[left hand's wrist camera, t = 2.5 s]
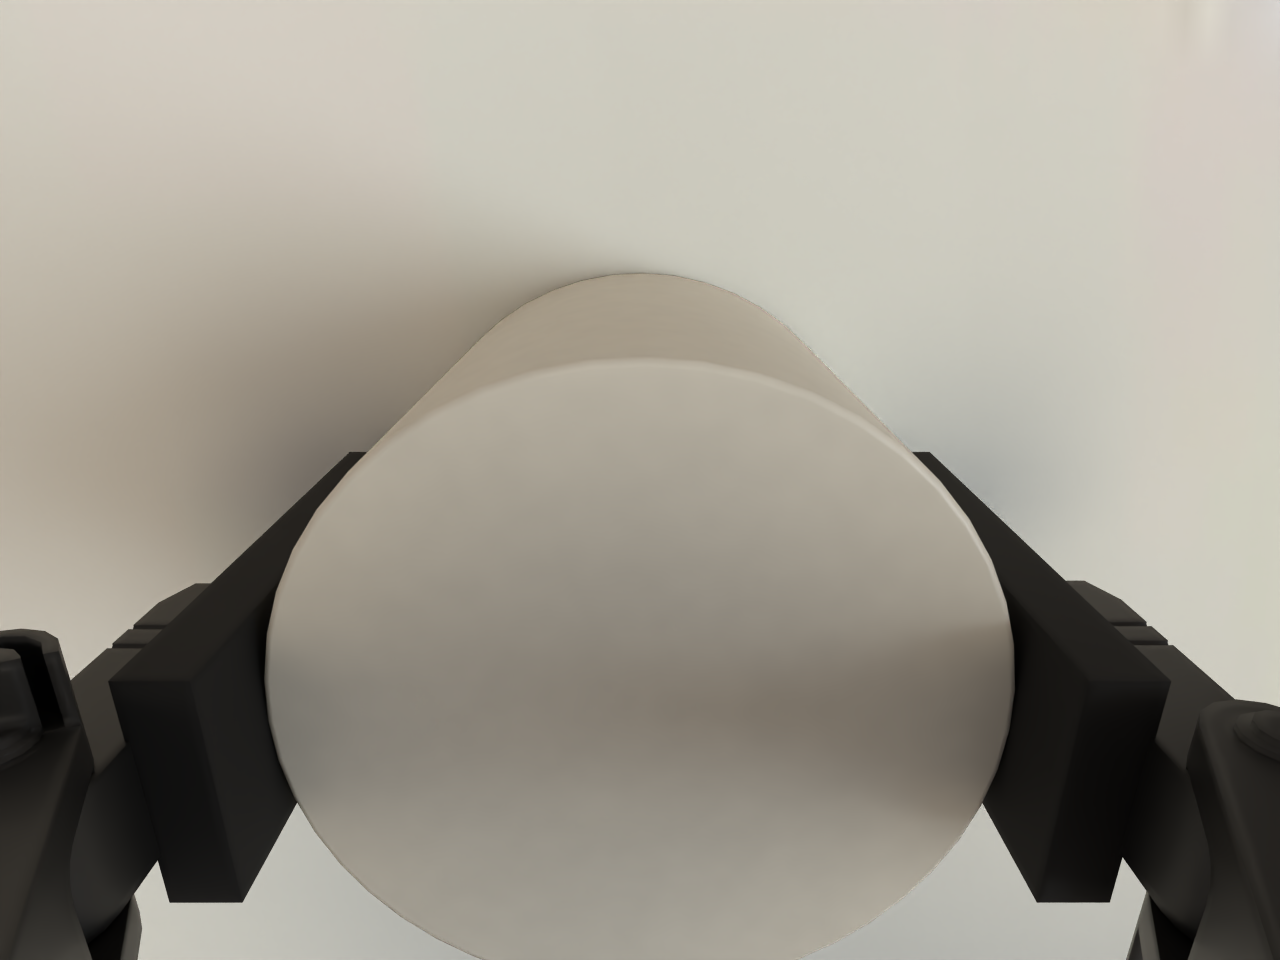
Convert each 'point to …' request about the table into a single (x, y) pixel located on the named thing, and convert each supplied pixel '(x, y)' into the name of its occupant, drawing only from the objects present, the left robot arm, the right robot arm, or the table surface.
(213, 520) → the table surface
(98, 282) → the table surface
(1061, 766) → the left robot arm
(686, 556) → the canister
